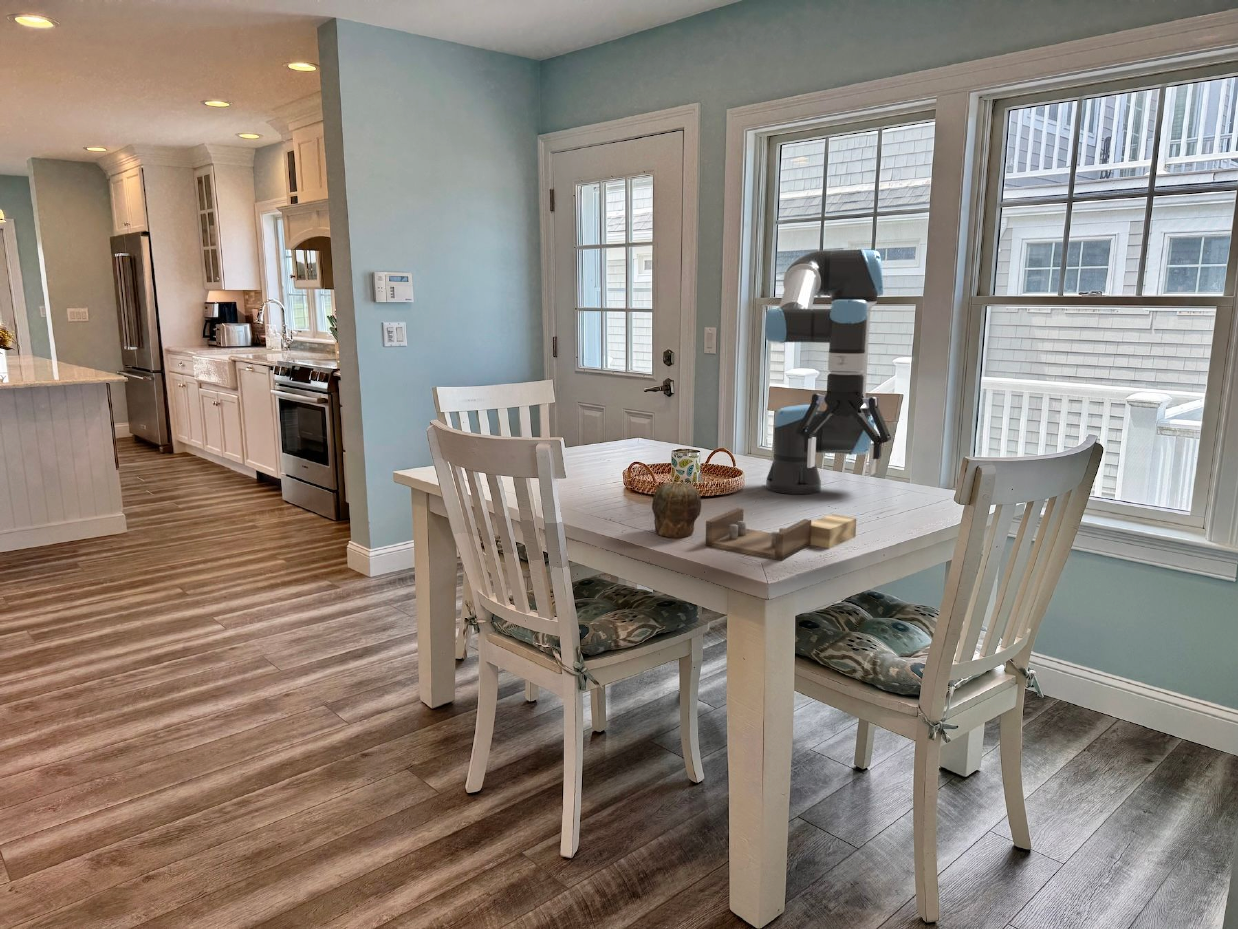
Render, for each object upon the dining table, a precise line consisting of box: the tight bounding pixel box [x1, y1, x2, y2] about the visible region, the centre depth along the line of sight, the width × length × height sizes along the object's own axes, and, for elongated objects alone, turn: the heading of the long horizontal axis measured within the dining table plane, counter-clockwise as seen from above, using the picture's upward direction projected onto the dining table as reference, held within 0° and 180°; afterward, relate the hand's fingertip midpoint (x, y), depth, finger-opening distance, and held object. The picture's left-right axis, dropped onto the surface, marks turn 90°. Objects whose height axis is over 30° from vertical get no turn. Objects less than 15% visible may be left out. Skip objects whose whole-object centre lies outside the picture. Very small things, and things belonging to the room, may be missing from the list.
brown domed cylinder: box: [651, 481, 702, 539], centre depth 188 cm, size 11×11×12 cm
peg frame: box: [705, 507, 812, 562], centre depth 180 cm, size 18×14×6 cm
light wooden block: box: [810, 513, 857, 549], centre depth 184 cm, size 12×6×4 cm, turn 137°
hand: (840, 470), depth 182 cm, fingers open, 13 cm apart
